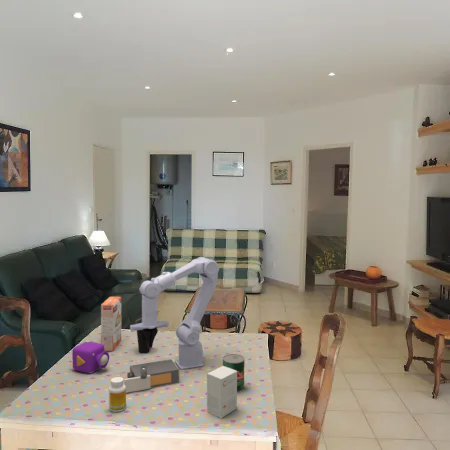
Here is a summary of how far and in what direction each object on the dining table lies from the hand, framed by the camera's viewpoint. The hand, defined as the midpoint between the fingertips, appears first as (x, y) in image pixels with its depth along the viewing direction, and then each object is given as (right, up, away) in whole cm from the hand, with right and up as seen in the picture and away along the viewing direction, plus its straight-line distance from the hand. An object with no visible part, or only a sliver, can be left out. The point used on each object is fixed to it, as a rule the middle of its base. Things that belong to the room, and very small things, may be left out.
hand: (149, 347), depth 168 cm
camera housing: (+3, -11, -5) cm, 12 cm away
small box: (+28, -14, -26) cm, 40 cm away
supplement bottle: (-6, -13, -25) cm, 29 cm away
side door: (-2, -12, -14) cm, 18 cm away
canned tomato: (+32, -12, -10) cm, 36 cm away
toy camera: (-23, -10, +4) cm, 26 cm away
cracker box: (-22, -8, +29) cm, 37 cm away
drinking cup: (-6, -8, +22) cm, 25 cm away
